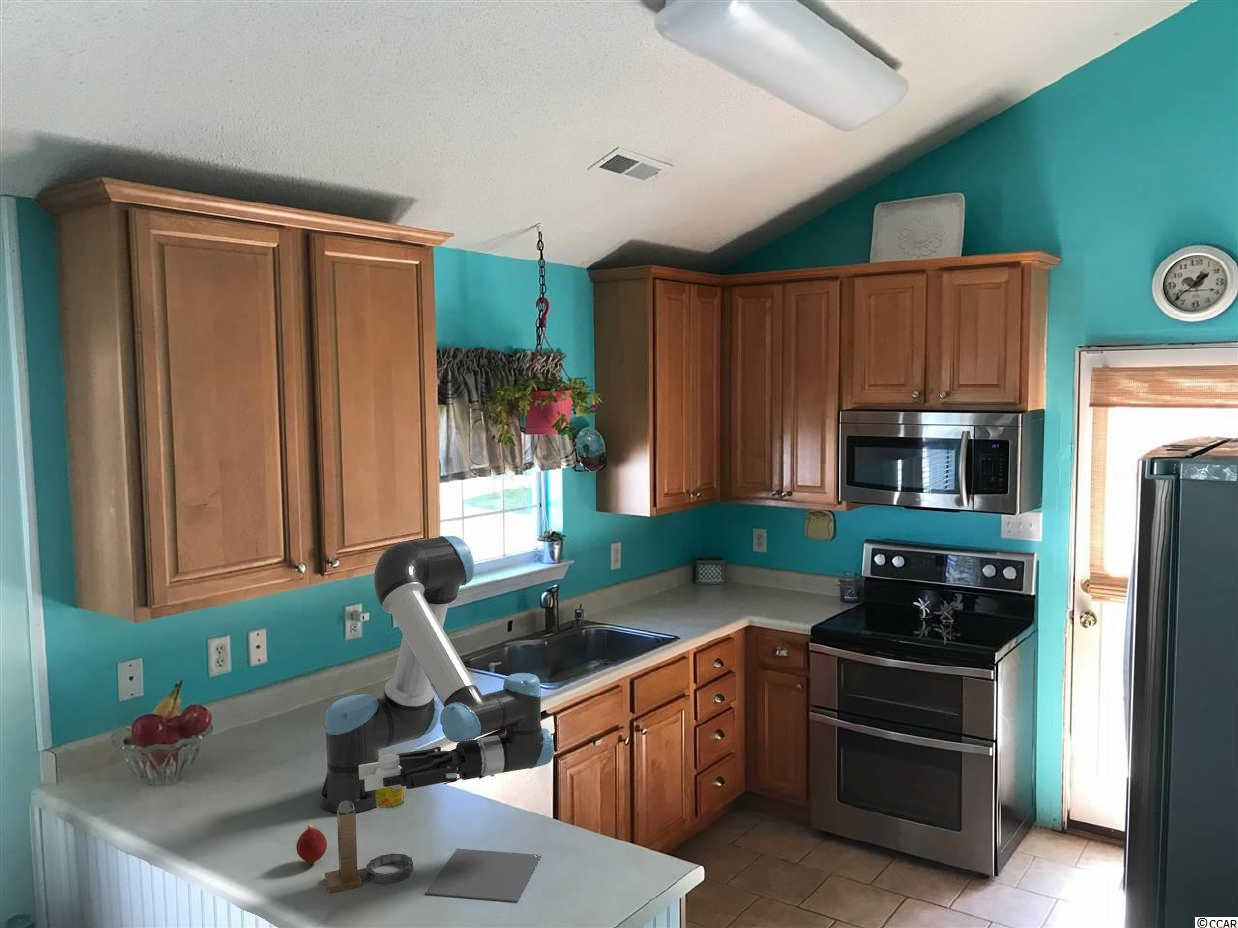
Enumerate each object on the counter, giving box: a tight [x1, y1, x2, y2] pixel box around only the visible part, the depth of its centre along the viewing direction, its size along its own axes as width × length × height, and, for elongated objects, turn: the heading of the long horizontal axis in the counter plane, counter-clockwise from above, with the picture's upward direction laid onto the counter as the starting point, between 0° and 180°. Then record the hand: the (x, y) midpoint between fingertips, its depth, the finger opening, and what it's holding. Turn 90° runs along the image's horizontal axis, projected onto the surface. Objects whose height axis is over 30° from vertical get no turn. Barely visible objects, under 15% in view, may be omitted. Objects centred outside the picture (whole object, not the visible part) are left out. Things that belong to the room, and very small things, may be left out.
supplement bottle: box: [375, 753, 405, 812], centre depth 190 cm, size 5×5×10 cm
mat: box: [424, 848, 543, 903], centre depth 190 cm, size 18×18×1 cm
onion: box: [295, 824, 328, 865], centre depth 195 cm, size 6×6×8 cm
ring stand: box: [324, 800, 414, 894], centre depth 189 cm, size 14×16×16 cm
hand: (362, 777), depth 188 cm, fingers closed on supplement bottle, 5 cm apart
